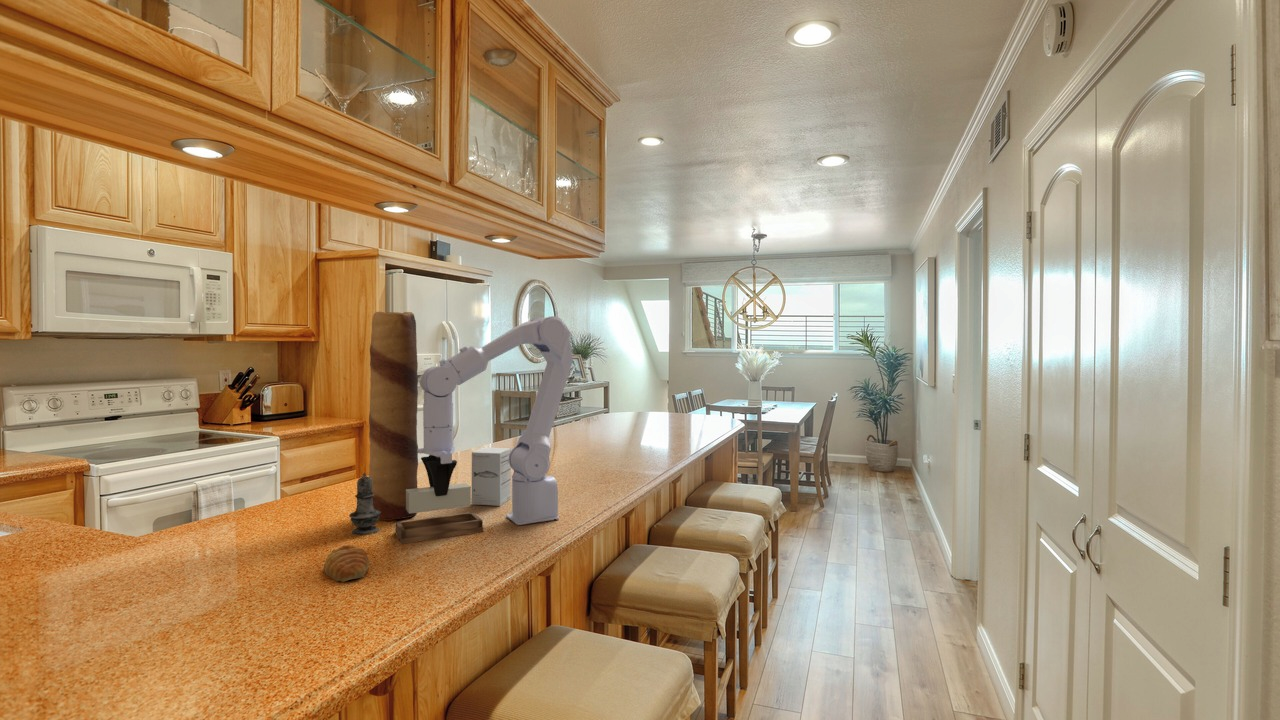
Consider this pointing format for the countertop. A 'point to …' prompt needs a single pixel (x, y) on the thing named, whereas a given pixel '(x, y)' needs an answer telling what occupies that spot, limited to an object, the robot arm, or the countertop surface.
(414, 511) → the grey rectangular block
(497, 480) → the supplement box
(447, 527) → the tray
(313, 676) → the countertop surface
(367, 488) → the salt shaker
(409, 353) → the wafer roll
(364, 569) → the pastry
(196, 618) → the countertop surface
